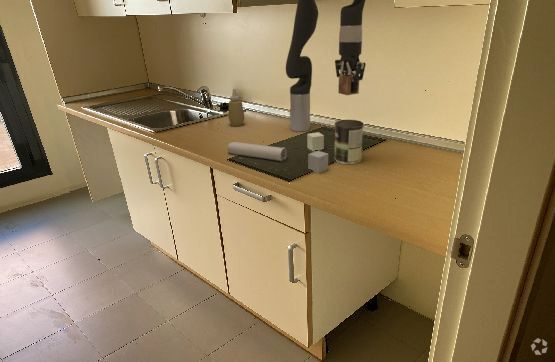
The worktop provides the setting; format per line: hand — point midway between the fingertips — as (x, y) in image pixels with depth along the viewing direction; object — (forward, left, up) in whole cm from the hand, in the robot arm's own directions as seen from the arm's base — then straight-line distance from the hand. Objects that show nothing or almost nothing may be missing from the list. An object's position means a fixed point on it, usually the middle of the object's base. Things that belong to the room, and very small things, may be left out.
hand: (348, 91), depth 134 cm
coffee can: (0, +1, -26) cm, 26 cm away
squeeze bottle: (-69, -14, -26) cm, 75 cm away
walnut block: (0, 0, -1) cm, 1 cm away
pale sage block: (-17, -2, -26) cm, 31 cm away
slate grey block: (+2, -14, -26) cm, 30 cm away
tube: (-23, -27, -26) cm, 44 cm away
